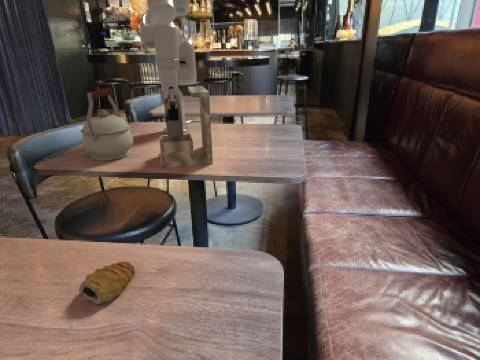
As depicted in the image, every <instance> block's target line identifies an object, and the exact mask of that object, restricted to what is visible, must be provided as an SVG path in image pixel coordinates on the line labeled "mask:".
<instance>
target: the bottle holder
mask: <svg viewBox="0 0 480 360" xmlns="http://www.w3.org/2000/svg"><path fill="white" fill-rule="evenodd" d="M187 92H188V93H189V94H190V97H192V98H198V99H199V115H200V132H201V143H202V146H201V147H200V146H199V147H194V141H193V138H192V134H191V132H189V133H187V132H185V133H183V136H181V137H175V138H173V137H168V135H167V134H164V135H163V134H162V135H159V147H160V169H169V168H170V169H172V168H179V167H180V168H181V167H191V166H202V165H211V164H213V163H214V162H213V161H214V159H213V142H212V141H213V140H212V123H211V121H212V120H211V103H210V92H209V90H208V89H206V87H204V86H203V85H199V86H198V85H197V86H196V85H195V86H187Z"/></svg>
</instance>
